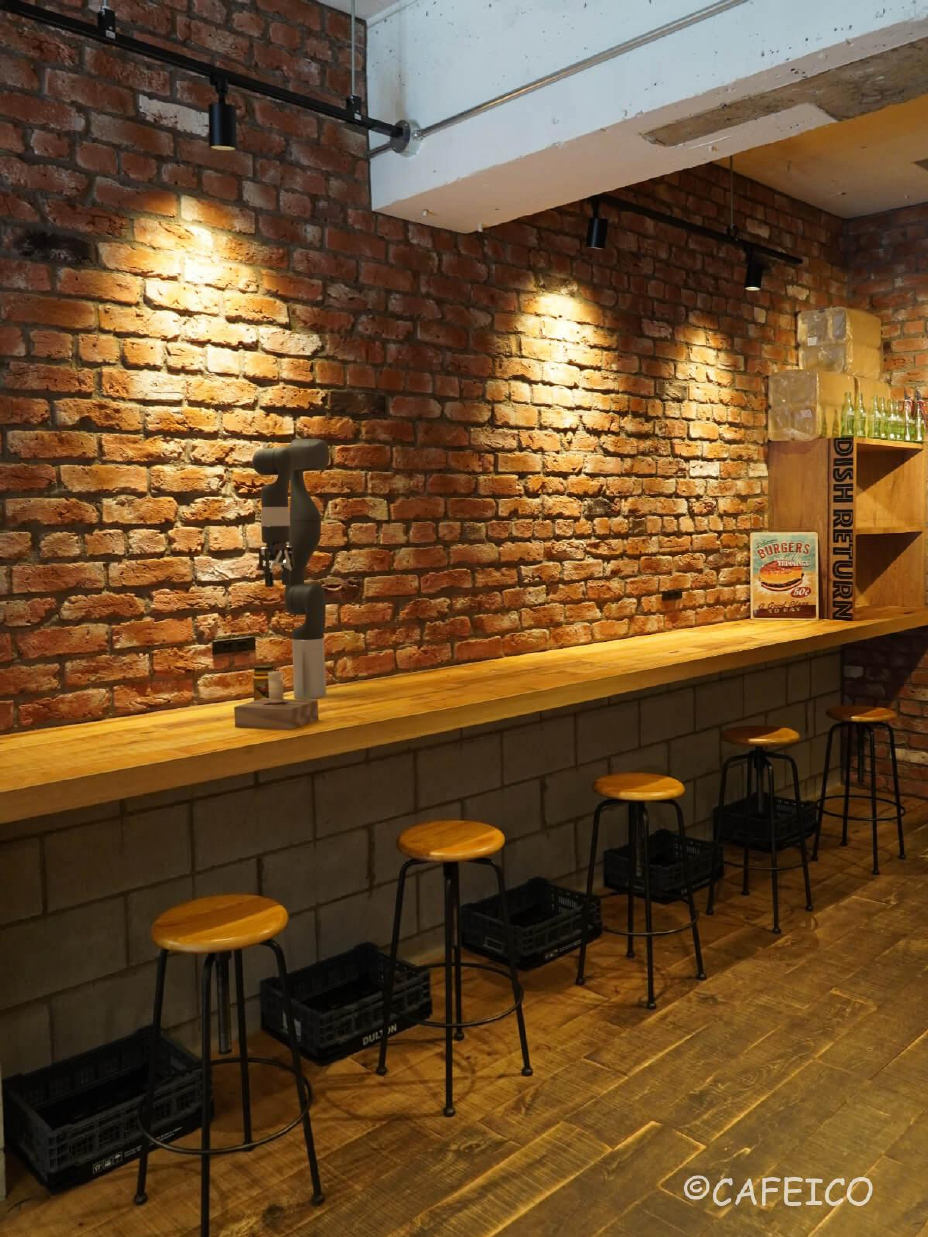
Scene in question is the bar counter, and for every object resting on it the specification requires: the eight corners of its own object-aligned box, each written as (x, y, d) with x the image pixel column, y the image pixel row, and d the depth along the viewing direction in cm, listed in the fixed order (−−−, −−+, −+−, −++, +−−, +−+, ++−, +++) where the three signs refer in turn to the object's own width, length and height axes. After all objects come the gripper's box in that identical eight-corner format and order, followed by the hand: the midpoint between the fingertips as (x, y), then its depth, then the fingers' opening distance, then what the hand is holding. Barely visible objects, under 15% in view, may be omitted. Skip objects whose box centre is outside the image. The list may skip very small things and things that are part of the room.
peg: (274, 721, 268) (272, 671, 267) (287, 722, 267) (285, 671, 266) (267, 724, 264) (265, 673, 263) (279, 724, 263) (277, 673, 262)
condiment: (266, 712, 282) (264, 668, 281) (242, 710, 286) (240, 666, 285) (283, 707, 289) (282, 664, 288) (260, 705, 293) (258, 663, 292)
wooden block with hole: (264, 716, 275) (263, 698, 274) (318, 719, 269) (317, 700, 269) (235, 726, 262) (234, 707, 261) (291, 729, 256) (290, 709, 256)
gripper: (277, 524, 283) (279, 584, 285) (248, 525, 270) (251, 587, 271) (301, 524, 281) (303, 584, 282) (274, 524, 267) (276, 587, 269)
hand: (277, 586), depth 277 cm, fingers open, 8 cm apart
